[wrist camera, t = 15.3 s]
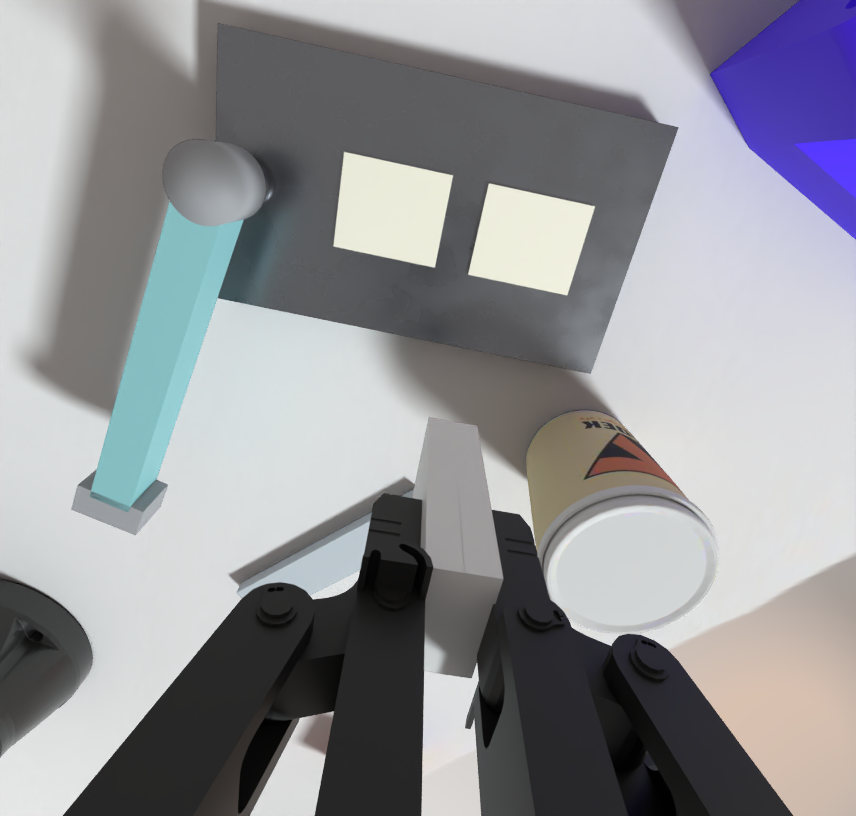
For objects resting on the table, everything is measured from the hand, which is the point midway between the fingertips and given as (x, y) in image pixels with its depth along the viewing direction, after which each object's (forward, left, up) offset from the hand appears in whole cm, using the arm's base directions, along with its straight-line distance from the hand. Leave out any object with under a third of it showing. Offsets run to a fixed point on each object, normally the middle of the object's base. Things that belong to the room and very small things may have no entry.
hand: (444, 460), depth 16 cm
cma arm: (-15, -4, -14) cm, 21 cm away
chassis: (-2, +5, -19) cm, 20 cm away
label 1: (-4, +5, -17) cm, 18 cm away
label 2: (+4, +5, -17) cm, 18 cm away
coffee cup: (+12, -9, -19) cm, 24 cm away
